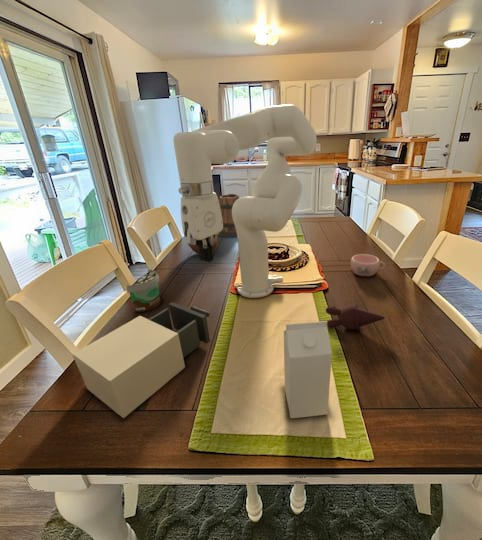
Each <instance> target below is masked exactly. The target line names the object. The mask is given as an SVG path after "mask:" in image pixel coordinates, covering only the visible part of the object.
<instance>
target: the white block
mask: <svg viewBox="0 0 482 540" xmlns="http://www.w3.org/2000/svg"><path fill="white" fill-rule="evenodd" d="M148 319H149V318H146V317H144V316H141V315H139V316H137V317H135V318H133V319H131V320H130V321H128V322H126V323H124V324H123V325H121V326H119V327H118V328H115V329H113V330H112V331H110V332H109V333H106V334H105V335H103V336H102V337H100V338H98V339H96V340H95V341H93V342H91V343H89V344H87V345H85V346H84V347H82V348H80V349H79V350H77V351H75V352H73V353H72V356H73V360H74V361H75V364H76V366H77V368H78V371H79V373H80V376H81V378H82V380H83V382H84V385H85V388H86V390H88V391H89V392H90V393H91V394H93V395H94V396H95V397H96V398H98V399H99V400H100V401H101V402H103V403H104V404H105V405H107V407H108V408H109V409H111V410H112V411H114V412H115V413H116V414H117V415H119V416H120V417H121V418H122V419H125V418H126V417H128V415H130V414H131V413H133V411H135V410H136V409H137V408H138V407H139V406H141V405H142V404H143V403H144V402H145V401H146V400H148V399H149V398H150V397H151V396H153V395H154V394H155V393H156V392H157V391H158V390H160V389H162V388H163V386H165V385H166V384H167V383H168V382H169V381H170V380H172V379H173V378H174V377H176V376H177V375H178V374H179V373H180V372H181V371H182V370H184V369H185V368H186V364H185V358H183V354H182V350H181V345H180V340H179V336H178V333H176V332H174V331H171V330H169V329H167V328H165V327H163V326H161V325H159V324H157V323H155V322H152V321H150V320H148Z"/></svg>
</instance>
